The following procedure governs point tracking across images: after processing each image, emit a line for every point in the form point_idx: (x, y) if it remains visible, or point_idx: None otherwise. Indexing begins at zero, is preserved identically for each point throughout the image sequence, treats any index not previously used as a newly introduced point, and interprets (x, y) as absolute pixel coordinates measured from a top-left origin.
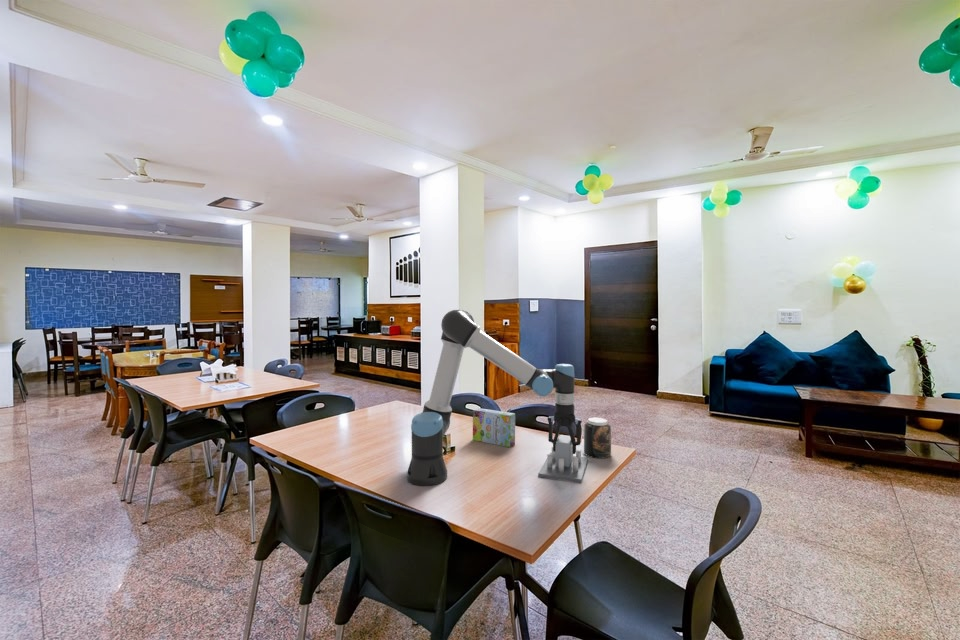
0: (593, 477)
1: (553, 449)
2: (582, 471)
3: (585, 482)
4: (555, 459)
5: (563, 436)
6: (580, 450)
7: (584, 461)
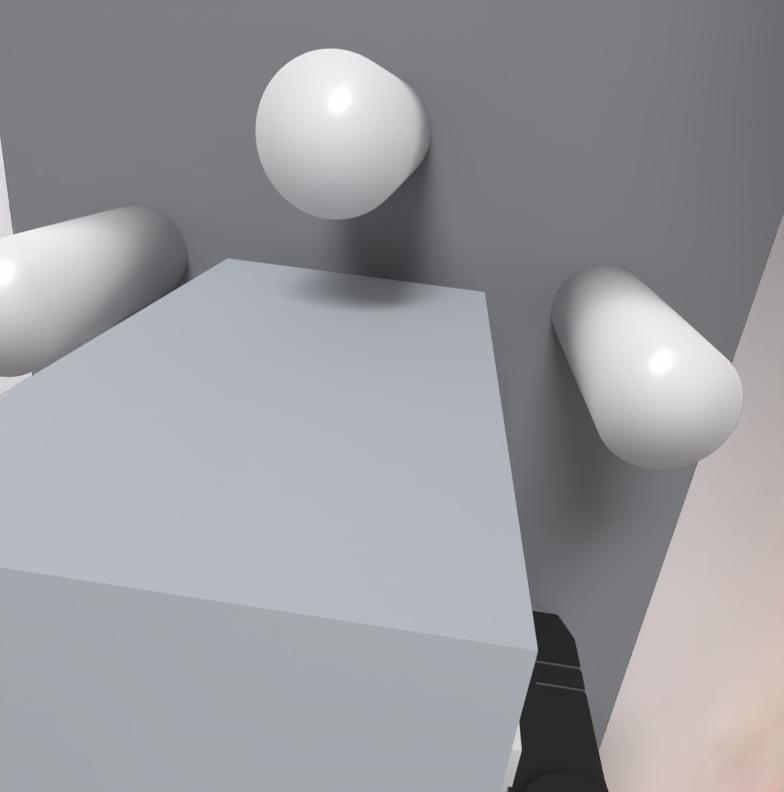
0: (747, 658)
1: None
2: (619, 637)
3: (616, 776)
4: (170, 291)
5: (36, 760)
6: (726, 388)
7: (735, 210)
